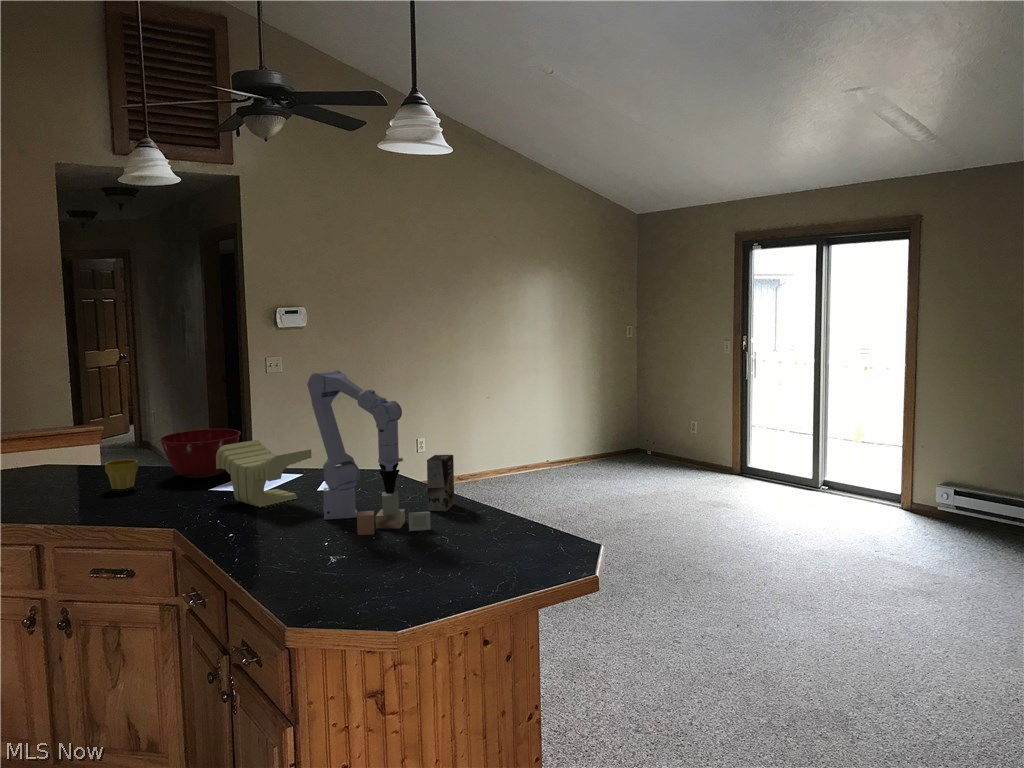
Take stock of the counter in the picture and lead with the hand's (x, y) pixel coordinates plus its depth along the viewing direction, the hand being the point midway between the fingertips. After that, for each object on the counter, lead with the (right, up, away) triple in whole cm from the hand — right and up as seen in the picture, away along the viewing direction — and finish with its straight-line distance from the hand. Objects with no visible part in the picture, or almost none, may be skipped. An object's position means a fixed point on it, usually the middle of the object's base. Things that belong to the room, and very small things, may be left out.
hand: (389, 490), depth 229 cm
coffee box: (+13, -8, +19) cm, 25 cm away
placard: (+9, -11, -4) cm, 15 cm away
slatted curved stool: (-45, -8, +30) cm, 55 cm away
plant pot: (-101, -7, +50) cm, 113 cm away
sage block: (0, -7, +1) cm, 7 cm away
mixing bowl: (-82, -4, +71) cm, 108 cm away
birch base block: (0, -11, +1) cm, 11 cm away
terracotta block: (-6, -11, -6) cm, 14 cm away
